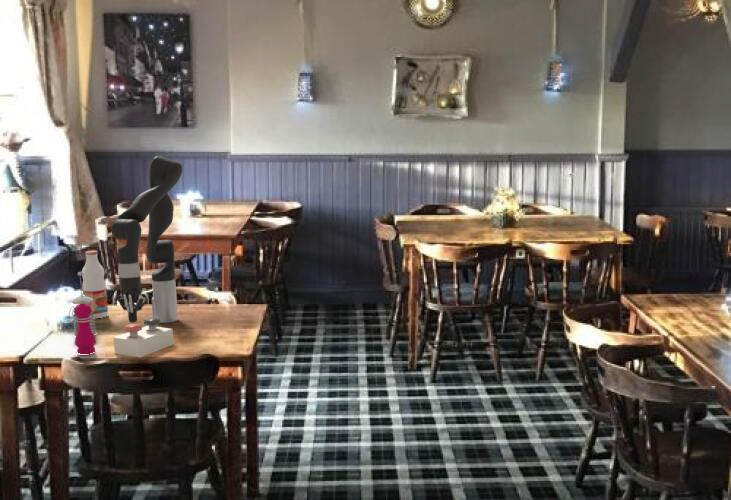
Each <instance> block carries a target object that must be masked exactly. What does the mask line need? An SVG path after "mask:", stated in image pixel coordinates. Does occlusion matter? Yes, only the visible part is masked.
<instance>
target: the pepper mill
mask: <svg viewBox="0 0 731 500" xmlns="http://www.w3.org/2000/svg"><path fill="white" fill-rule="evenodd" d="M84 303H85V301H84V300H80V304H76V305H75V306H74V308H75V309H74V308H73V309H74V311H73V315H74V314H75V315H76V316H77V317H76V319H77V320H76V321H77V322H78V323H77V324H78V326H77V328H78V333H77V335H76V338H75V340H74V344H75V346H76V347H77V351H76V353H77V352H78V353H80V354H90V353H93V352H95V353H96V348H95V344H96V343H97V339H96V336H94V334H93V332H92V331H91V328H90V320H91V319H90V318H91V317H90V314H91V311H92V310H91V307H90V306H89V305H88V304H84Z"/></svg>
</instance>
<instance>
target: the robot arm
mask: <svg viewBox="0 0 731 500" xmlns="http://www.w3.org/2000/svg"><path fill="white" fill-rule="evenodd" d="M182 173H183V165H182V164H181V162H179V161H176V160H173V159H170V158H169V157H164V156H160V155H156V156H155V157H153V159H152V160H151V162H150V166H149V189H147V190H146V191H144V192H142V193H140V194H139V195H137V196H136V197H135V199H134V200H133V201H132V203H131V204H130V206H129V207H128V208H127V209H126V210H125V211H123V212H122V213H121V214H119V215H118V216H117V217H115V219H114V220H113V222H112V224H111V227H110V232H111V235H112V237H114V238H115V239H119V240H126V243H125V245H121V246H119V247H118V249H117V259H118V260H117V262H118V272H117V273H118V281H119V289H120V293H119V295H116V297H115V298H116V300H117V302H118V304H119V305H120V307H121V308H122V310H123V311H127V314H128V315H127V316H128V322H129V323H130V324H131V323H132V324H135V323H137V320H138V312H139V311H142V309H143V307H144V305H145V304H146V302H147V300H148V299H147V297H145V296H143V294H142V291H141V287H142V279H141V278H142V277H141V267H140V262H139V261H140V260H139V249H140V242H141V238H142V237H141V236H142V226H141V224H140V223H143V222H144V221H145V220H146V219H147V218H148V234H147V240H146V249H145V252H146V255H145V256H146V260H147V262H148V263H149V264H152V265H153V264H164V265H163V266H162V267H161V268H159V269H157V270H155V271H154V272H152V274H151V283H152V284H151V286H152V298H151V308H152V309H151V310H152V311H151V312H152V318H160V320H161V323H160V324H167V323H173V322H177V321H178V320H179V315H178V302H177V301H178V300H177V299H178V298H177V287H176V269H175V247H174V243H173V241H172V240H171V239H160V237H161V236H162V235H163V234H164V233H165V232H166V231H167V229H168V228H169V227H170V226H171V224H172V222H173V220H174V209H175V208H174V207H175V206H174V203H173V201H172V198H171V197H170V195H169V192H170V191H171V190H172V189H173V188H174V187H175V186H176V185H177V184H178V182H179V180H180V179H181V176H182ZM159 239H160V240H159Z"/></svg>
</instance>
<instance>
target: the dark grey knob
mask: <svg viewBox="0 0 731 500" xmlns="http://www.w3.org/2000/svg"><path fill="white" fill-rule="evenodd" d="M159 324H162V323H161V320H160V318H153V317H148V318H144V319H143V325H144V326H149V331H152V332H154V331H157V327H158V325H159Z"/></svg>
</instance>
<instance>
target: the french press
mask: <svg viewBox="0 0 731 500" xmlns="http://www.w3.org/2000/svg"><path fill="white" fill-rule="evenodd" d="M82 275H83V274H82V271H78V272H77V276H79V281H80V283H79V284H82V280H81V276H82ZM80 293H81V295H80V296H77V297H75V298H73V299H72V300H71V303H72V304H75V305H78V304H80V300H84V301H85V303H89V302H92V301H93V299H92V298H90V297H86V296H83V288H80ZM75 305H72V306H71V307H70V309H69V312H68V319H69V322H70V323H71V325H73V331H74V333H73V334H74V335H75V336H76V335H77V333H78V322H77V321H76V320H77V319H76V318H77V316H76V315H75V314H74V309H75ZM72 308H73V309H72ZM71 310H72V312H71ZM91 310H92V309H91ZM92 311H93V310H92ZM92 311H91V314H90V317H91V318H90V319H91V320H90V328H91V331H92V332H93V334H96V333H98V331H96V324H95V321H96V320H95V319H94V313H92ZM70 314H71V316H70ZM70 317H71V318H70ZM71 319H72V321H71Z"/></svg>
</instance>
